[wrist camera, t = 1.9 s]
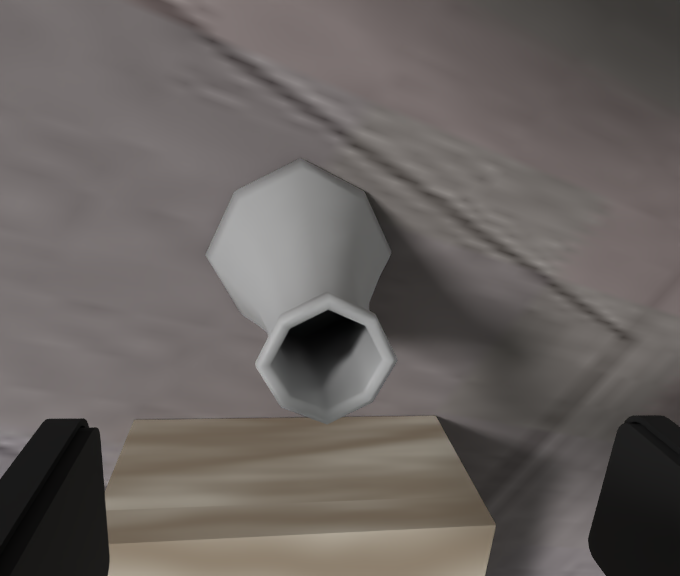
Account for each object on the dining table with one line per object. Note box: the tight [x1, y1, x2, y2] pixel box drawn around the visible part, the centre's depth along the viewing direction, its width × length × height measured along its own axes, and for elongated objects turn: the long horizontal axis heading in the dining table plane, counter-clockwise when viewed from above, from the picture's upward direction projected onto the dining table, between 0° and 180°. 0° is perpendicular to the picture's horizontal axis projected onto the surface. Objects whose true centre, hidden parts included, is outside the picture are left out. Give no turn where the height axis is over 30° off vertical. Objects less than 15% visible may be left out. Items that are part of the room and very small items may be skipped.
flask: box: [205, 158, 398, 424], centre depth 17 cm, size 7×7×10 cm
